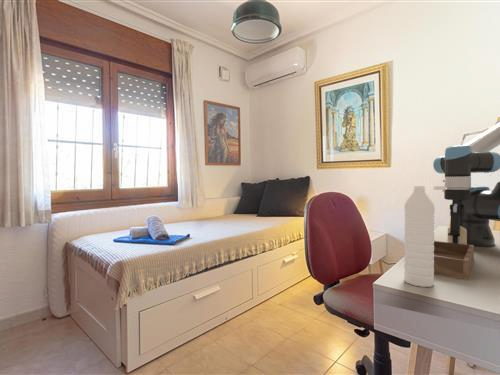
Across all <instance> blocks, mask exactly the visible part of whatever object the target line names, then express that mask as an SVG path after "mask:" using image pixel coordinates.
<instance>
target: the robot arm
mask: <svg viewBox="0 0 500 375" xmlns="http://www.w3.org/2000/svg"><path fill="white" fill-rule="evenodd" d="M498 146H500V119H499V120H497V121H496V122H495V124H494V126H492V127H490V128H489V129H487V130H486V131H484V132H483V133H481V134H480V135H478V136H476V137H475V138H473V139H471V140H469V141H468V142H467V143H465V144H463V145H452V146H448V147H446V148H445V150H444V155H441V156H437V157H436V158H435V159H434V160H433V170H434V171H435V172H436V173H437V174H444V179H443V180H442V183H444V186H446V188H445V189H446V190H443V192H444V193H443V194H444V195H443V196H444V200H447V201H452V202H451V204H449V210H450V211H449V216H450V226H449V227H450V233H448V232H447V236H448V235H451V243H458V244H460V226H462V227H463V228H465V229H466V230H467V245H474V246H479V247H486V246H487V247H489V246H490V247H491V246H495V241H496V240H495V237H494V235H493V232H492V230H491V227H490V221H496V222H500V180H499V181H498V182H497V183H496V184H495V185H494V188H493V189H490V187H489V186H473V187H472V173H473V174H475V173H477V174H478V173H484V174H486V173H487V174H488V173H495V172H497V171H499V170H500V154H499V153H497V152H493V151H492V150H494V149H495V148H497V147H498ZM491 151H492V152H491ZM455 231H456V232H455Z"/></svg>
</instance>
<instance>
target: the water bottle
mask: <svg viewBox="0 0 500 375" xmlns="http://www.w3.org/2000/svg"><path fill="white" fill-rule="evenodd" d="M425 188H426V187H425V186H423V185H422V186H421V185H420V186H418V185H417V186H413V192H412V193H411V194H410V196H409V197H408V198H407V199H406V201H405V204H404V265H403V266H404V277H403V278H404V280H403V281H405V283H407V284H410V285H412V286H416V287H421V288H427V287H428V288H430V287H433V286H434V285H435V276H434V275H435V274H434V267H433V266H434V241H435V204H434V203H435V202H434V201H432V199H431V198H430V196H429V195H428V194H427V193H426V189H425ZM446 189H447V188H446V186H445V185H433V191H437V190H438V191H439V190H440V191H444V190H446Z"/></svg>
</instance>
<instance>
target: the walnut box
mask: <svg viewBox="0 0 500 375" xmlns="http://www.w3.org/2000/svg"><path fill="white" fill-rule="evenodd" d="M474 248H475V245H466V244H458V243H450V242H448V241H441V240H434V266H433V267H434V274H433V275H439V276H444V277H451V278H456V279H460V280H465V281H469V277H470V275H471V271H472V267H473V264H474V261H475V260H474V259H475V258H474V256H475V252H474V251H475V250H474Z"/></svg>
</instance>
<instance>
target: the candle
mask: <svg viewBox="0 0 500 375" xmlns="http://www.w3.org/2000/svg"><path fill="white" fill-rule="evenodd" d="M455 232H456V231H455ZM448 233H450V226H449V227H447V242H450V243H451V235H448ZM460 244H466V245H467V230H466V229H465V228H463V227H462V226H460Z"/></svg>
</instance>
